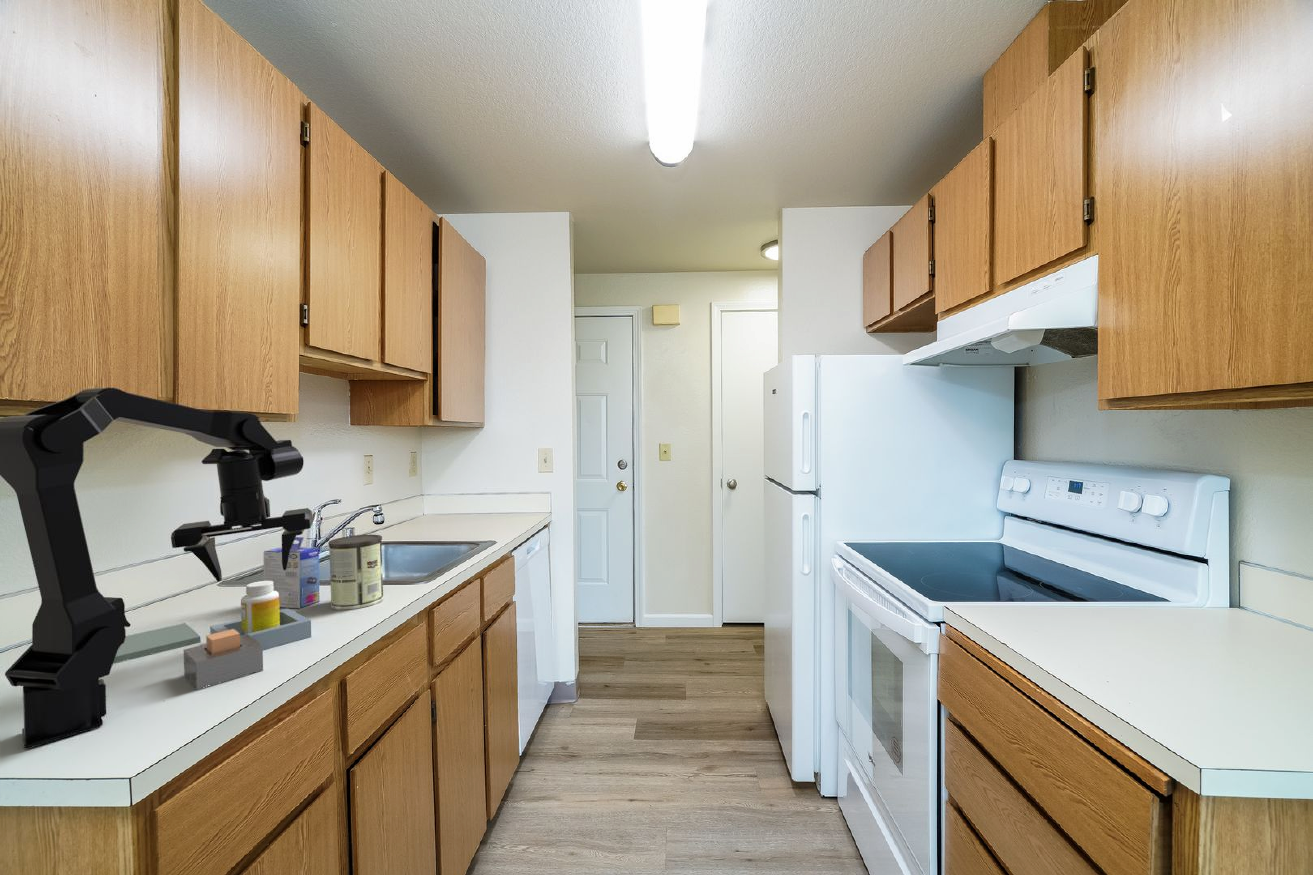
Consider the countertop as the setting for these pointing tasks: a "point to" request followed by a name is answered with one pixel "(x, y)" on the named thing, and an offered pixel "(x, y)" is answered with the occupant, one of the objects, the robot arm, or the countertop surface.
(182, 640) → the mat
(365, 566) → the coffee can
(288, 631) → the tray
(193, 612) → the countertop surface
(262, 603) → the supplement bottle
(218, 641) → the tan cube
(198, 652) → the block
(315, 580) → the ink cartridge box
